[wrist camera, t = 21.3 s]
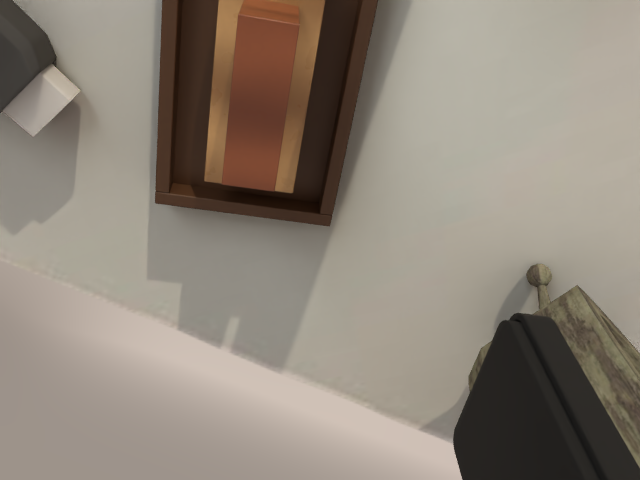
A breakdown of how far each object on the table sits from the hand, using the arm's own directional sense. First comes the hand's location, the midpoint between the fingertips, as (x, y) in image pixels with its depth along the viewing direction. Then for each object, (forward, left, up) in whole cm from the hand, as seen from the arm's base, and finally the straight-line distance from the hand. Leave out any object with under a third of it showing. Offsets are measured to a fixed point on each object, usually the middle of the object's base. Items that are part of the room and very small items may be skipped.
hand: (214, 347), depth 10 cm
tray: (0, -2, -26) cm, 26 cm away
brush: (0, -3, -26) cm, 26 cm away
